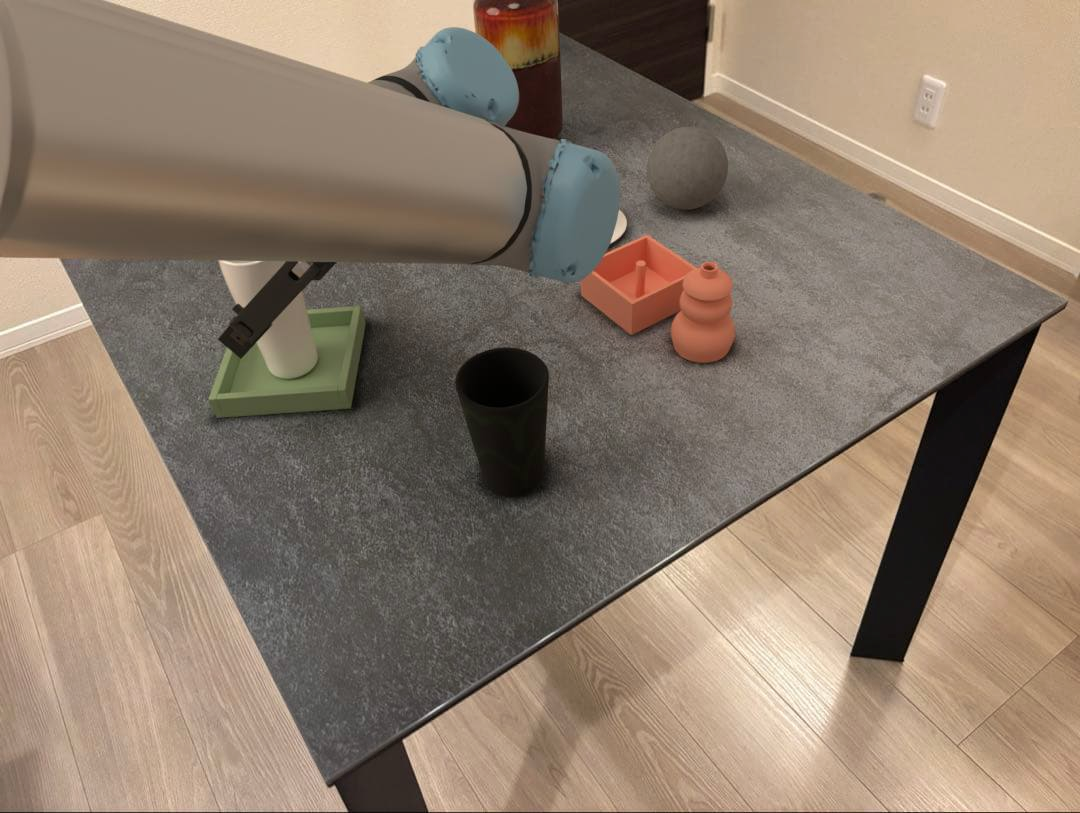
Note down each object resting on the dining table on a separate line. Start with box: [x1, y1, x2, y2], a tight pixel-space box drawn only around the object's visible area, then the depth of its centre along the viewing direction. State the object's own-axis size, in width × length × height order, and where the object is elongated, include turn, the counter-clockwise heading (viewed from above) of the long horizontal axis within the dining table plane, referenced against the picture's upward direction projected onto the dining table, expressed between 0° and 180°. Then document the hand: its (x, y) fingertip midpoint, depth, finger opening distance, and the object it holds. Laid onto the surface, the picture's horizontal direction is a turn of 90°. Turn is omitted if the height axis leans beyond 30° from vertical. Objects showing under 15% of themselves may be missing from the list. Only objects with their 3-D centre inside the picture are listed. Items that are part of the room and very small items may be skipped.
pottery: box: [580, 234, 736, 364], centre depth 87 cm, size 18×10×10 cm, turn 34°
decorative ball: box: [646, 126, 729, 211], centre depth 103 cm, size 10×10×10 cm
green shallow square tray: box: [207, 305, 367, 419], centre depth 87 cm, size 14×14×3 cm
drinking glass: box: [217, 260, 318, 379], centre depth 82 cm, size 7×7×15 cm
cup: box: [454, 346, 550, 499], centre depth 71 cm, size 8×8×12 cm
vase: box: [472, 0, 563, 140], centre depth 111 cm, size 11×11×26 cm
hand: (273, 304), depth 82 cm, fingers open, 13 cm apart
